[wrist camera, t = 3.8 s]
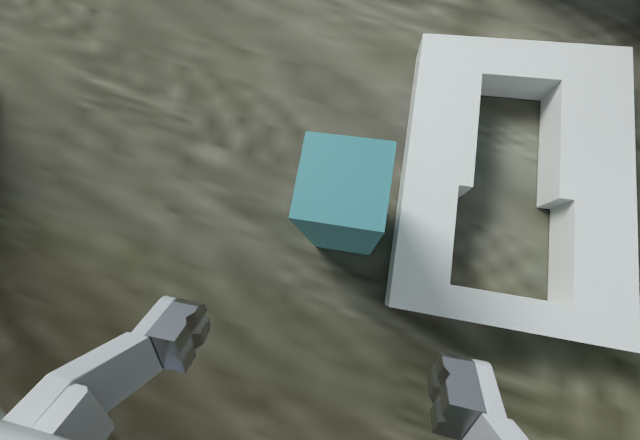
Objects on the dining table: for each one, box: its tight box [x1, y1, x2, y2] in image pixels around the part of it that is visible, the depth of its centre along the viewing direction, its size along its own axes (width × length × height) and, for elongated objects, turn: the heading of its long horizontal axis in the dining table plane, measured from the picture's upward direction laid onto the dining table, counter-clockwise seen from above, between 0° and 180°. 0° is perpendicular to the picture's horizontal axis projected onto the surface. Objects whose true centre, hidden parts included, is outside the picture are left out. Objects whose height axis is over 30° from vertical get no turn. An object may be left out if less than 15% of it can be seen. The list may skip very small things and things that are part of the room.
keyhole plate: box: [385, 33, 640, 353], centre depth 21 cm, size 20×14×2 cm
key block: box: [289, 131, 397, 255], centre depth 18 cm, size 4×4×10 cm
